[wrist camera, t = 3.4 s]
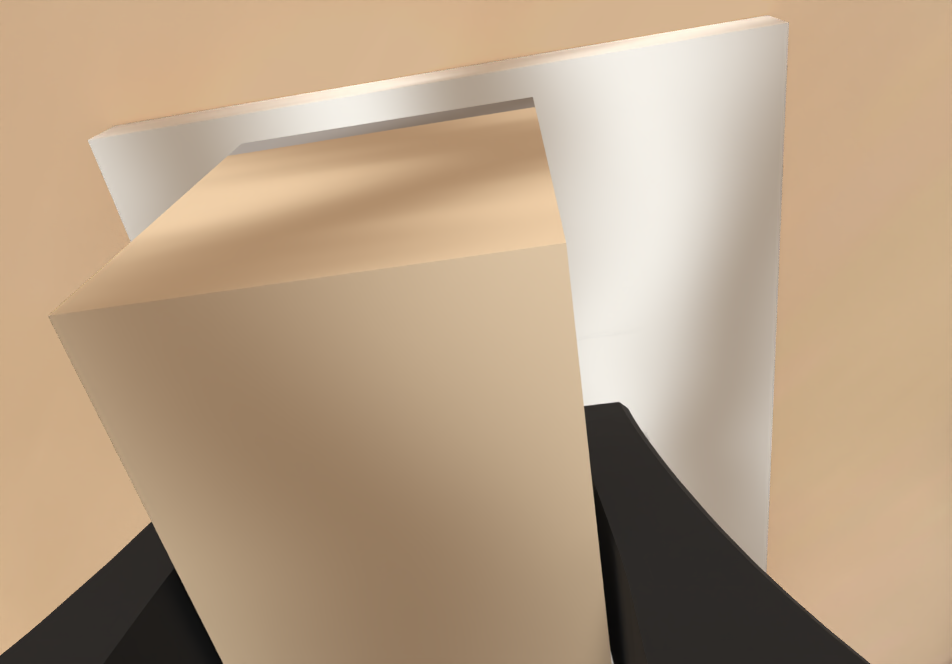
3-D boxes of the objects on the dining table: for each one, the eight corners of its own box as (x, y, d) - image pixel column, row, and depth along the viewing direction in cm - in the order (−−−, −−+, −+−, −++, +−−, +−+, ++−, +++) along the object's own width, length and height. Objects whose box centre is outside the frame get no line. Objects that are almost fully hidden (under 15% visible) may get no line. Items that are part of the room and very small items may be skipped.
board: (767, 15, 15) (789, 22, 14) (750, 618, 23) (763, 650, 22) (114, 125, 16) (87, 140, 15) (327, 657, 25) (319, 689, 24)
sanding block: (533, 96, 10) (566, 242, 5) (585, 539, 13) (630, 834, 9) (241, 143, 10) (47, 316, 6) (373, 560, 14) (319, 854, 9)
